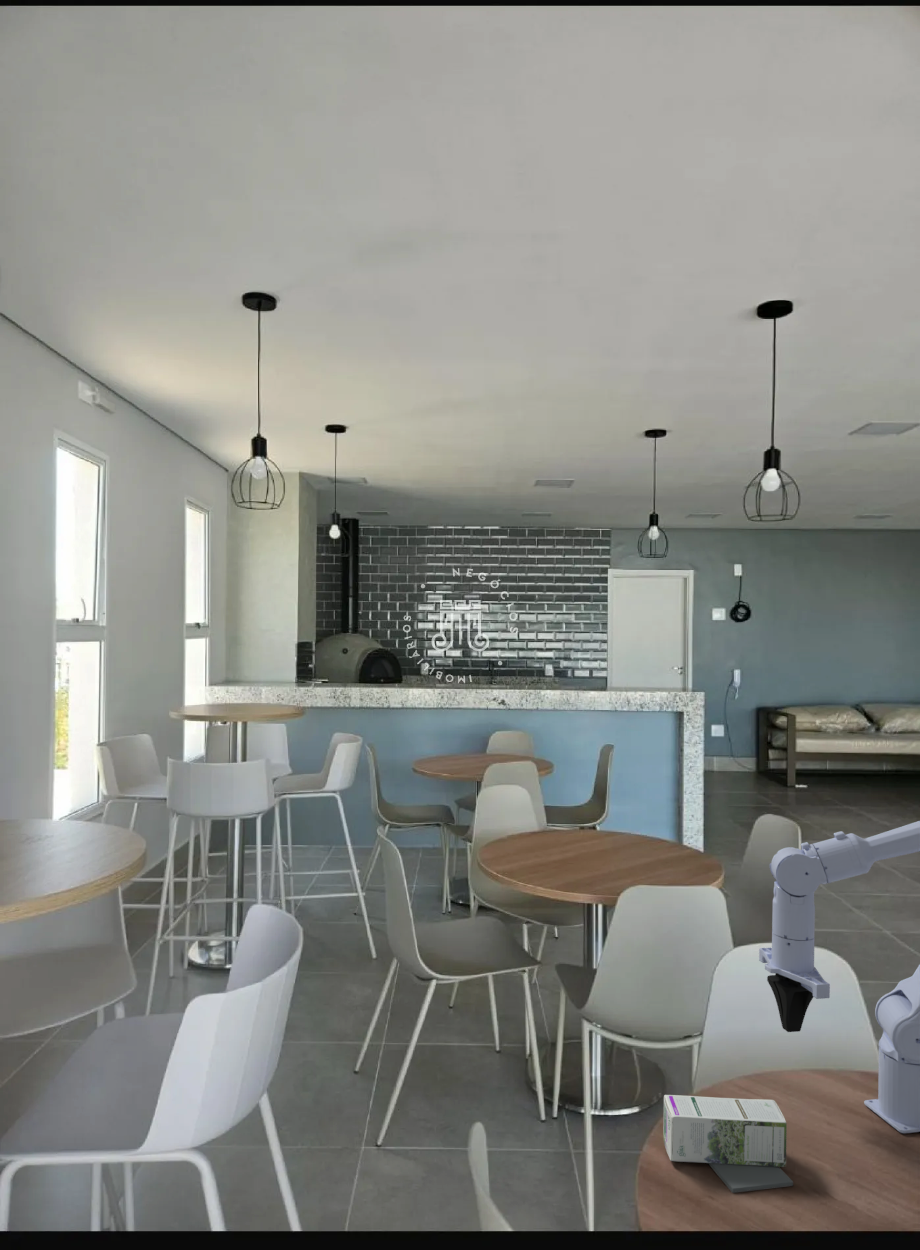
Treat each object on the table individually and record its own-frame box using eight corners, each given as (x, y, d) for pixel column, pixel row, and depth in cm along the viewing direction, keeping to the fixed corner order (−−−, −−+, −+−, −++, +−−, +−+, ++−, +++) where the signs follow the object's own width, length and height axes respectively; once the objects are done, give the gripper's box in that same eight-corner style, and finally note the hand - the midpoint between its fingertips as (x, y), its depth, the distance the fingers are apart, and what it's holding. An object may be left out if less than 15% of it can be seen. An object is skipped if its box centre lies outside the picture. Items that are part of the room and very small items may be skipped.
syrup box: (774, 1098, 114) (661, 1092, 115) (788, 1123, 108) (669, 1116, 109) (774, 1142, 114) (661, 1135, 115) (787, 1169, 108) (669, 1162, 109)
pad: (753, 1143, 114) (753, 1139, 114) (793, 1185, 105) (793, 1181, 105) (696, 1149, 113) (696, 1145, 113) (732, 1192, 104) (732, 1188, 104)
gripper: (741, 919, 132) (739, 1010, 131) (797, 953, 118) (795, 1054, 117) (783, 917, 133) (782, 1007, 133) (844, 950, 119) (842, 1051, 119)
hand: (791, 1029), depth 125 cm, fingers closed
